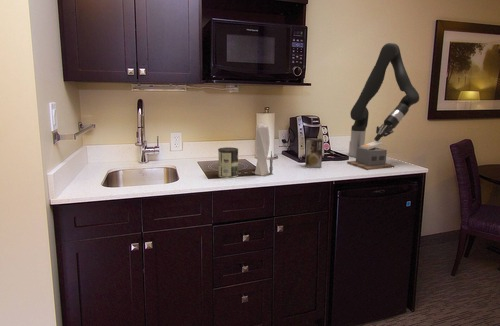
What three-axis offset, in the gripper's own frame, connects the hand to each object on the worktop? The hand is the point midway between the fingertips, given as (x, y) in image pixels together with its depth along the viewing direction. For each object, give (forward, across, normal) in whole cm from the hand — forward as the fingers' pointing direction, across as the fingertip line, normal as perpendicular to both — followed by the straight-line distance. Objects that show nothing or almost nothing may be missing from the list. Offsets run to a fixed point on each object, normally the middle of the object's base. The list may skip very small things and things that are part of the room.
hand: (375, 140), depth 216 cm
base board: (+12, 0, +9) cm, 15 cm away
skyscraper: (+62, -1, -40) cm, 74 cm away
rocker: (+4, 0, 0) cm, 4 cm away
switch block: (+12, 0, +8) cm, 14 cm away
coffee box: (+37, -9, -15) cm, 41 cm away
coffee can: (+75, -4, -53) cm, 92 cm away
